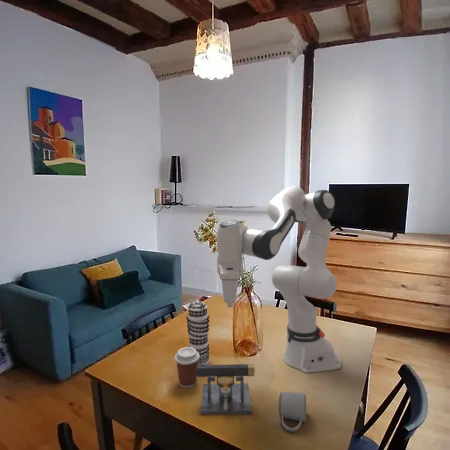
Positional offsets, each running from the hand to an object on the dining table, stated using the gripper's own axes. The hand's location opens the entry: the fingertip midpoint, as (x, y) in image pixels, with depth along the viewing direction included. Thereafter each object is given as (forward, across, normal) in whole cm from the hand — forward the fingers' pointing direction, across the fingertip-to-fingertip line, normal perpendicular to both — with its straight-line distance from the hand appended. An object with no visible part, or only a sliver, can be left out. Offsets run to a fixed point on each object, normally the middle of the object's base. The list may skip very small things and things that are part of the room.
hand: (230, 306), depth 115 cm
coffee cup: (+30, -2, -16) cm, 34 cm away
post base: (+30, +8, -2) cm, 31 cm away
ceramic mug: (+30, +17, +20) cm, 40 cm away
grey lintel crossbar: (+24, +8, -1) cm, 25 cm away
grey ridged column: (+30, -16, -13) cm, 36 cm away
